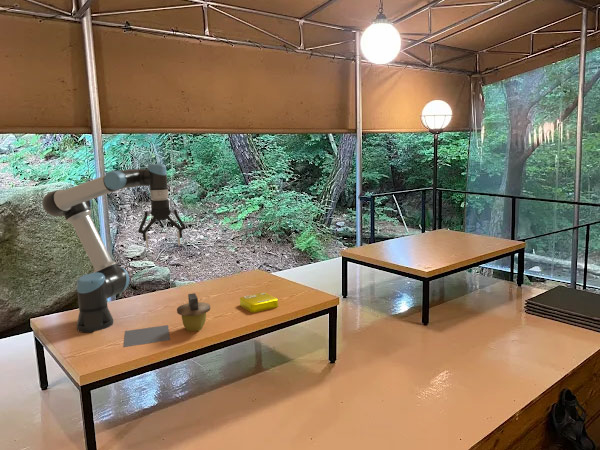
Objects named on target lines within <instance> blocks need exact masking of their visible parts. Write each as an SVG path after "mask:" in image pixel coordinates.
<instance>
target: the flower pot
mask: <svg viewBox="0 0 600 450" xmlns="http://www.w3.org/2000/svg"><path fill="white" fill-rule="evenodd" d="M180 316H181V319H182V321H181V322H182V325H183V327H184V328H185V330H186V331H187V332H199V331H201V330H202V329H203V327H204V325H205V322H206V318H207V312H206V313H204V314H200V315H195V316H183V315H180Z"/></svg>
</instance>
